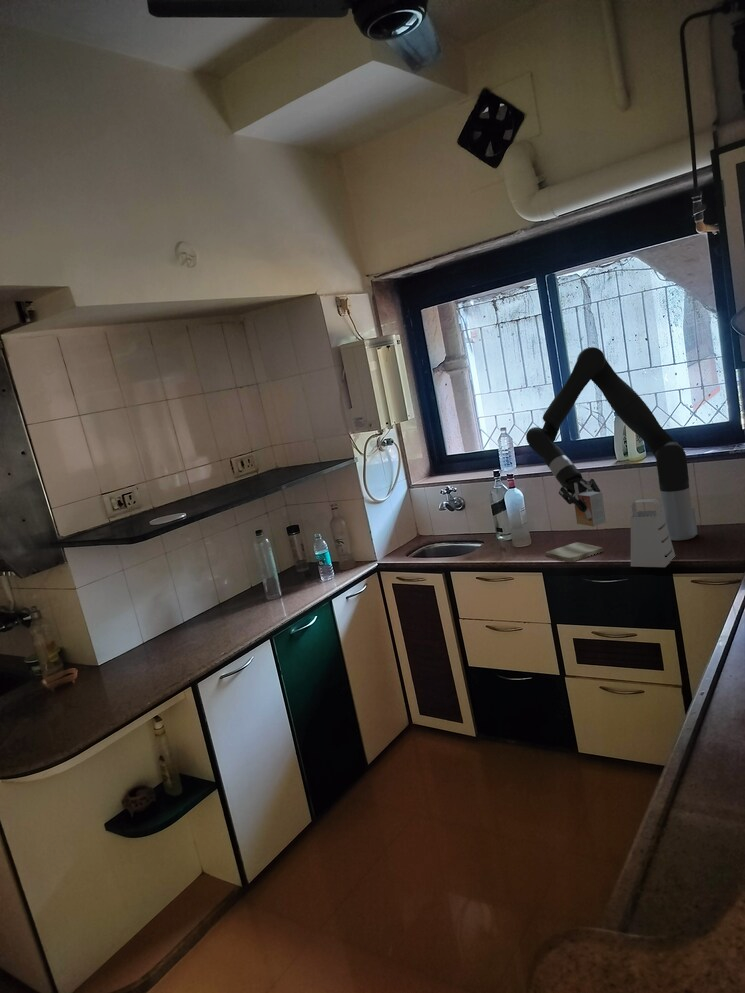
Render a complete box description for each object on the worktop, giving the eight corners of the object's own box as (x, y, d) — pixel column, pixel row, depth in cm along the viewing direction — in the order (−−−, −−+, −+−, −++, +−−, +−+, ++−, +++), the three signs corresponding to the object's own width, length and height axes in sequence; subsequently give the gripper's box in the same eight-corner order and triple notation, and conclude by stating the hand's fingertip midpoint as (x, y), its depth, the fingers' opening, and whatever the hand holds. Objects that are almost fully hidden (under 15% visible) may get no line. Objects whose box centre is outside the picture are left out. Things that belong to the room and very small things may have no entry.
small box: (576, 524, 224) (572, 494, 223) (589, 520, 226) (585, 490, 225) (593, 526, 217) (589, 495, 215) (606, 522, 219) (602, 491, 218)
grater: (642, 556, 218) (633, 497, 215) (675, 556, 211) (667, 495, 208) (630, 566, 210) (622, 505, 207) (665, 567, 203) (656, 504, 200)
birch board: (577, 545, 244) (577, 542, 244) (603, 551, 231) (602, 547, 231) (546, 556, 239) (545, 552, 239) (570, 562, 226) (570, 558, 226)
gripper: (551, 468, 223) (579, 506, 214) (585, 459, 228) (614, 495, 219) (544, 483, 229) (571, 520, 220) (577, 474, 234) (605, 509, 225)
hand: (592, 508), depth 219 cm, fingers closed on small box, 6 cm apart
